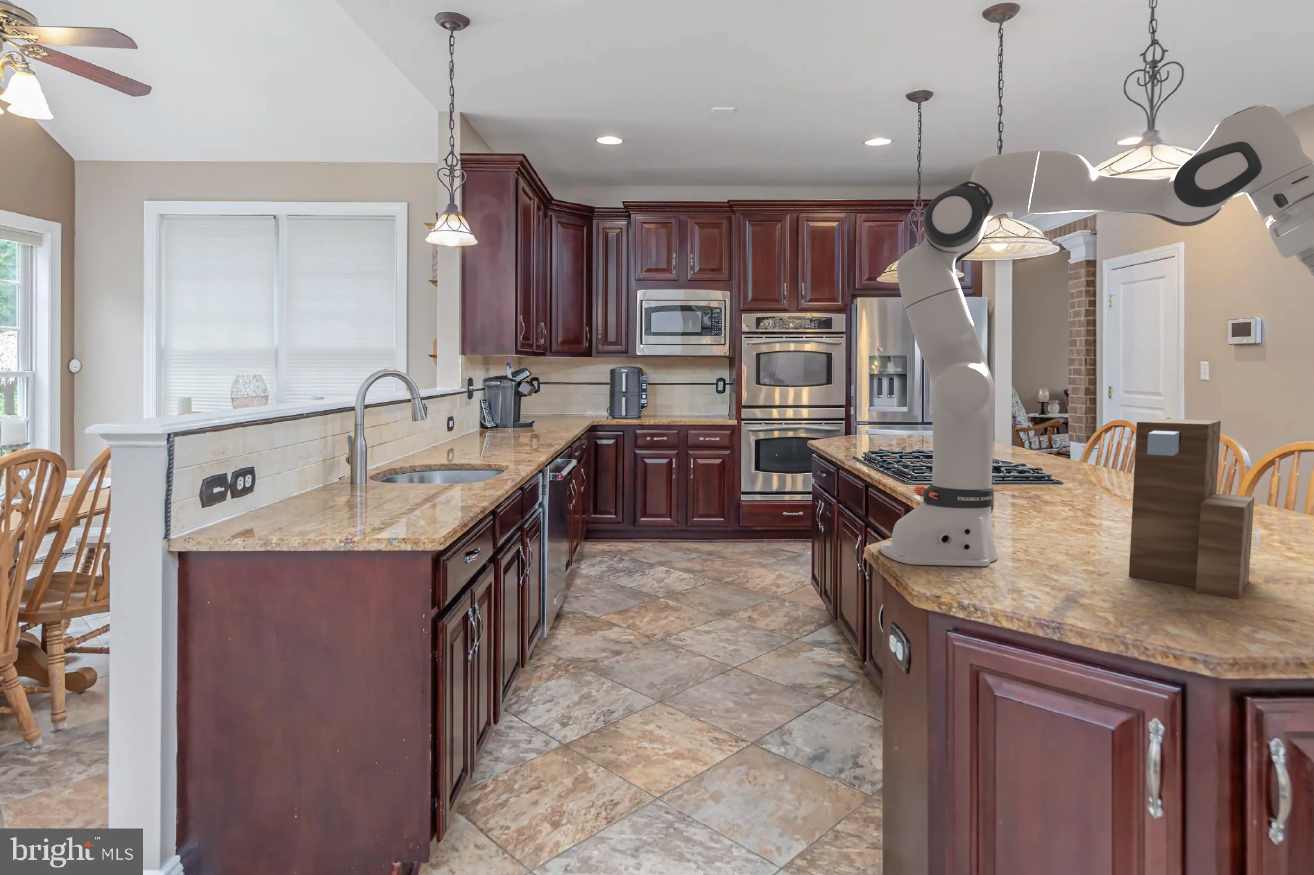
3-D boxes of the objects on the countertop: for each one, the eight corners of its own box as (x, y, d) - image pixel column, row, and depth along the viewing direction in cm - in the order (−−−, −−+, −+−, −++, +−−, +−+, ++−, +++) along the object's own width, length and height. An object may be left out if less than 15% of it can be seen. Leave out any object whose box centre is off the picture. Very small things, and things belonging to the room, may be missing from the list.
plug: (1173, 455, 112) (1174, 434, 112) (1147, 454, 115) (1148, 433, 115) (1194, 442, 126) (1195, 423, 125) (1170, 441, 128) (1171, 422, 128)
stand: (1238, 598, 112) (1249, 426, 109) (1125, 579, 123) (1133, 422, 120) (1250, 577, 123) (1260, 421, 121) (1146, 562, 134) (1153, 418, 132)
